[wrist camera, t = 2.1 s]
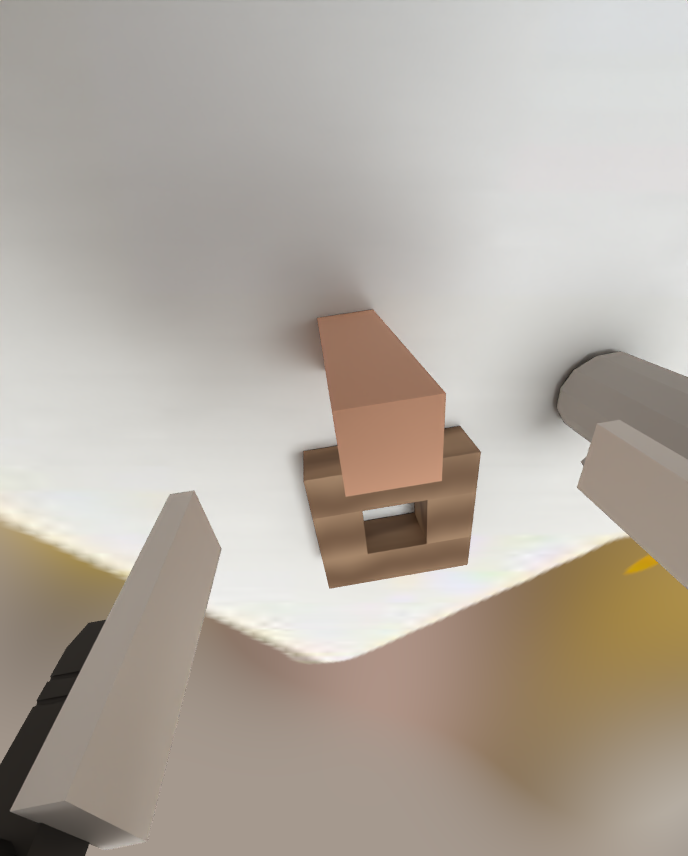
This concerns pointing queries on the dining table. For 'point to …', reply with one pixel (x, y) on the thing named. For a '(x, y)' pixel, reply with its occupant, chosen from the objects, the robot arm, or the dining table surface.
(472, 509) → the socket block
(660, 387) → the water bottle
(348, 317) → the peg
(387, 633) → the dining table surface
